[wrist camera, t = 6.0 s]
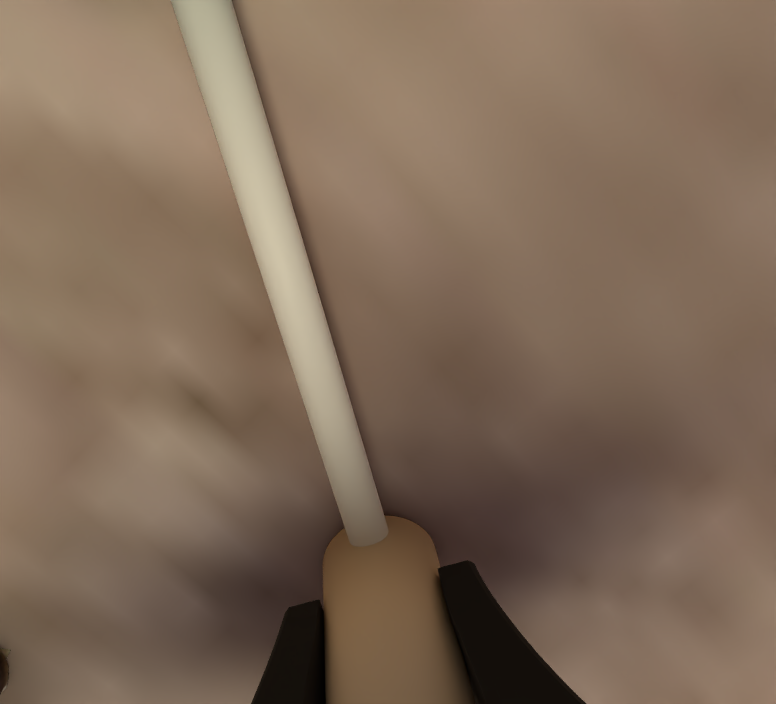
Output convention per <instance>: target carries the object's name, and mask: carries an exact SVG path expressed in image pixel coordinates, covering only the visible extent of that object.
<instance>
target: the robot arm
mask: <svg viewBox="0 0 776 704" xmlns="http://www.w3.org/2000/svg"><path fill="white" fill-rule="evenodd" d="M437 569H438V573H439V577H440V581H441V585H442V589H443V593H444V597H445V601H446V605H447V608H448V612H449V616H450V619H451V622H452V625H453V628H454V631H455V634H456V636H457V639H458V642H459V645H460V648H461V651H462V654H463V657H464V661H465V664H466V668H467V672H468V675H469V679H470V683H471V687H472V691H473V695H474V699H475V702H476V704H586V703H585V702H584V701H583V700H582V699H581V698H580V697H579V696H578V695H577V694H576V693H575V692H574V691H573V690H572V689H571V688H570V687H569V686H568V685H567V684H566V683H565V682H564V681H563V680H562V679H561V678H560V677H559V676H558V675H557V674H556V673H555V672H554V671H553V670H552V669H551V667H550V666H549V665H548V664H547V663H546V662H545V661H544V660H543V659H542V658H541V657H540V655H539V654H538V653H537V652H536V651H535V650H534V648H533V647H532V646H531V645H530V644H529V643H528V641H527V640H526V639H525V638H524V636H523V635H522V634H521V633H520V632H519V630H518V629H517V628H516V627H515V625H514V624H513V623H512V622H511V620H510V619H509V618H508V616H507V615H506V614H505V612H504V611H503V610H502V608H501V607H500V606H499V604H498V603H497V601H496V600H495V598H494V597H493V596H492V594H491V592H490V591H489V589H488V588H487V586H486V585H485V583H484V581H483V580H482V578H481V576H480V574H479V572H478V570H477V568H476V566H475V564H474V563H472V562H470V561H468V560H467V561H463V562H460V563H456V564H452V565H448V566H444V567H441V568H437ZM251 704H326V698H325V650H324V611H323V608H322V605H321V603H320V600H315V601H312V602H308V603H304V604H300V605H296V606H293V607H289V608H288V610H287V611H286V613H285V615H284V618H283V621H282V624H281V627H280V630H279V633H278V636H277V639H276V642H275V645H274V647H273V650H272V653H271V656H270V658H269V661H268V663H267V666H266V669H265V671H264V674H263V676H262V679H261V681H260V684H259V686H258V688H257V691H256V693H255V696H254V698H253V701H252V703H251Z"/></svg>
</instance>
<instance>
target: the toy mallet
mask: <svg viewBox="0 0 776 704" xmlns="http://www.w3.org/2000/svg"><path fill="white" fill-rule="evenodd" d="M171 3H172V6H173V9H174V12H175V15H176V18H177V21H178V24H179V27H180V30H181V33H182V36H183V39H184V42H185V45H186V48H187V51H188V54H189V57H190V60H191V63H192V66H193V69H194V72H195V75H196V78H197V81H198V84H199V88H200V91H201V94H202V97H203V100H204V103H205V106H206V109H207V112H208V115H209V118H210V121H211V124H212V127H213V130H214V133H215V136H216V139H217V142H218V145H219V148H220V151H221V154H222V157H223V160H224V163H225V166H226V169H227V172H228V175H229V178H230V181H231V184H232V187H233V191H234V194H235V197H236V200H237V203H238V206H239V209H240V212H241V215H242V218H243V221H244V224H245V227H246V230H247V233H248V236H249V239H250V242H251V245H252V248H253V251H254V254H255V257H256V260H257V263H258V266H259V269H260V272H261V275H262V278H263V281H264V284H265V287H266V290H267V293H268V297H269V300H270V303H271V306H272V309H273V312H274V315H275V318H276V321H277V324H278V327H279V330H280V333H281V336H282V339H283V342H284V345H285V348H286V351H287V354H288V357H289V360H290V363H291V366H292V369H293V372H294V375H295V378H296V381H297V384H298V387H299V390H300V393H301V396H302V400H303V403H304V406H305V409H306V412H307V415H308V418H309V421H310V424H311V427H312V430H313V433H314V436H315V439H316V442H317V445H318V448H319V451H320V454H321V457H322V460H323V463H324V466H325V469H326V472H327V475H328V478H329V481H330V484H331V487H332V490H333V493H334V496H335V499H336V503H337V506H338V509H339V512H340V515H341V518H342V521H343V524H344V527H345V528H344V529H342V530H341V531H340V532H339V533H338V534H337V535H336V536H335V537H334V538H333V539H332V540H331V542H330V543H329V545H328V547H327V549H326V551H325V554H324V558H323V603H324V650H325V698H326V704H476V702H475V699H474V695H473V691H472V687H471V683H470V679H469V675H468V672H467V668H466V664H465V661H464V657H463V654H462V651H461V648H460V645H459V642H458V639H457V636H456V634H455V631H454V628H453V625H452V622H451V619H450V616H449V612H448V608H447V605H446V601H445V597H444V593H443V589H442V585H441V581H440V577H439V573H438V569H437V568H441V567H440V564H439V560H438V556H437V552H436V548H435V545H434V543H433V541H432V539H431V537H430V536H429V535H428V533H427V532H426V531H425V530H424V529H423V528H422V527H420V526H419V525H417V524H416V523H414V522H412V521H410V520H407V519H404V518H401V517H396V516H384V513H383V509H382V506H381V503H380V499H379V496H378V492H377V489H376V486H375V482H374V479H373V476H372V472H371V469H370V465H369V462H368V459H367V455H366V452H365V449H364V445H363V442H362V438H361V435H360V432H359V428H358V425H357V422H356V418H355V415H354V412H353V408H352V405H351V401H350V398H349V395H348V391H347V388H346V385H345V381H344V378H343V374H342V371H341V368H340V364H339V361H338V358H337V354H336V351H335V347H334V344H333V341H332V337H331V334H330V331H329V327H328V324H327V320H326V317H325V314H324V310H323V307H322V304H321V300H320V297H319V293H318V290H317V287H316V283H315V280H314V277H313V273H312V270H311V266H310V263H309V260H308V256H307V253H306V250H305V246H304V243H303V239H302V236H301V233H300V229H299V226H298V223H297V219H296V216H295V212H294V209H293V206H292V202H291V199H290V196H289V192H288V189H287V185H286V182H285V179H284V175H283V172H282V169H281V165H280V162H279V159H278V155H277V152H276V148H275V145H274V142H273V138H272V135H271V132H270V128H269V125H268V121H267V118H266V115H265V111H264V108H263V105H262V101H261V98H260V94H259V91H258V88H257V84H256V81H255V78H254V74H253V71H252V67H251V64H250V61H249V57H248V54H247V51H246V47H245V44H244V40H243V37H242V34H241V30H240V27H239V24H238V20H237V17H236V13H235V10H234V7H233V3H232V0H171Z"/></svg>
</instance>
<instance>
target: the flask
mask: <svg viewBox="0 0 776 704" xmlns="http://www.w3.org/2000/svg"><path fill="white" fill-rule="evenodd" d="M9 653H10V650H9V649H3V648H0V694H1V692H3V691H4V690H5V689H6V687H7V682H8V675H9V673H7V672H8V671H9V667H8V664H7V660H6V659H7V657H8V655H9Z"/></svg>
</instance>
